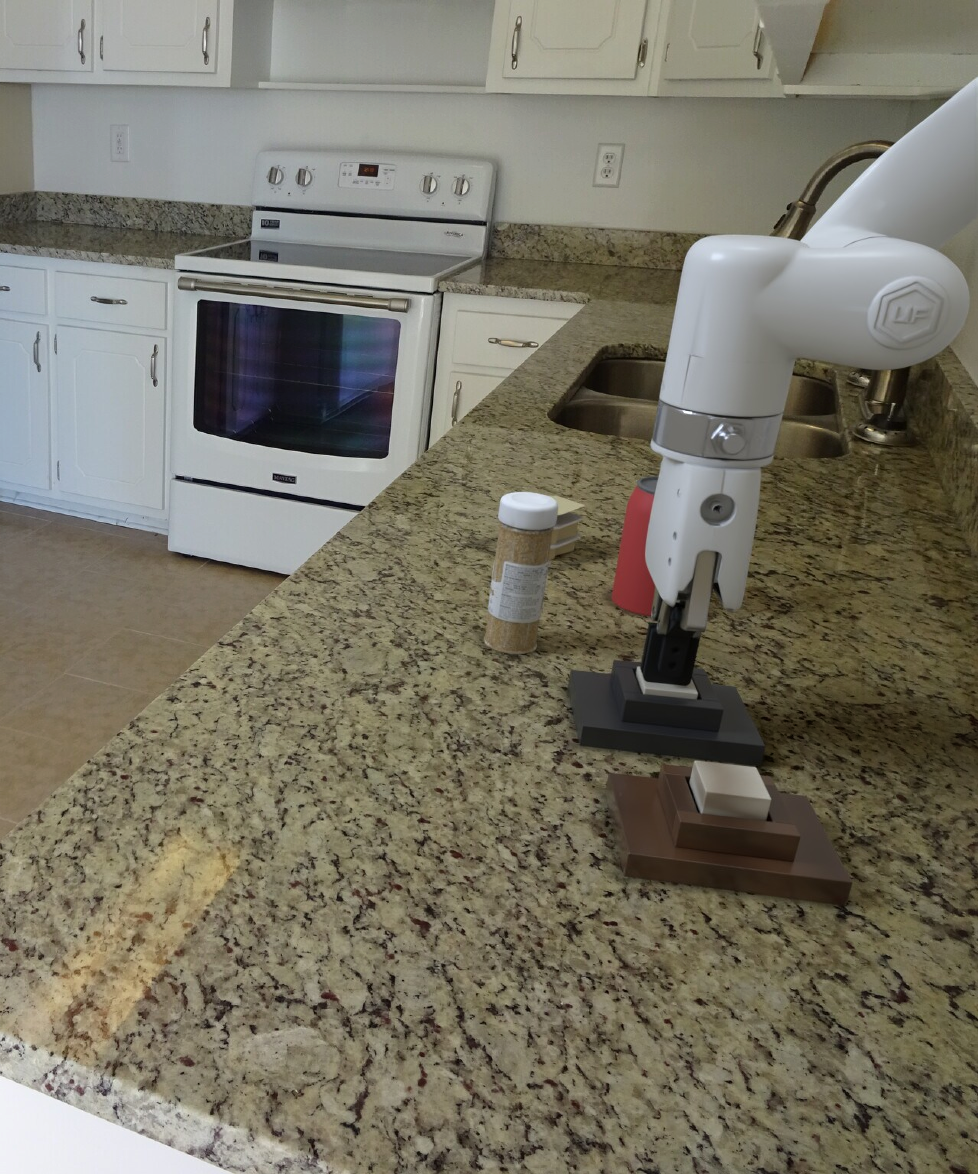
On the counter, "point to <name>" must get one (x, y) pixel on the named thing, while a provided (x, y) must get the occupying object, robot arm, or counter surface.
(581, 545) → the counter surface
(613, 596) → the beer can
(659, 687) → the key
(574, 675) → the grey stepped base
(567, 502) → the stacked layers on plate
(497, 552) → the tan spice bottle
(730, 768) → the key
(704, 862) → the brown stepped base
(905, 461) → the counter surface
